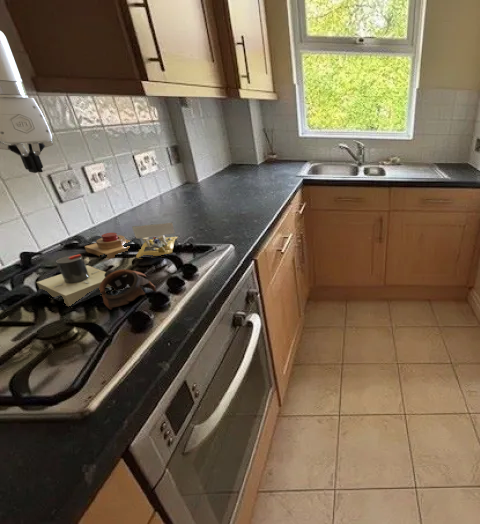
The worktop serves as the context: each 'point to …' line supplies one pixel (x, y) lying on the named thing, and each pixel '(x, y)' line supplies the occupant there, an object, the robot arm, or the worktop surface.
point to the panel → (72, 286)
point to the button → (109, 237)
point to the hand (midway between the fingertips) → (36, 171)
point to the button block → (108, 247)
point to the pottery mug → (123, 286)
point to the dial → (73, 268)
